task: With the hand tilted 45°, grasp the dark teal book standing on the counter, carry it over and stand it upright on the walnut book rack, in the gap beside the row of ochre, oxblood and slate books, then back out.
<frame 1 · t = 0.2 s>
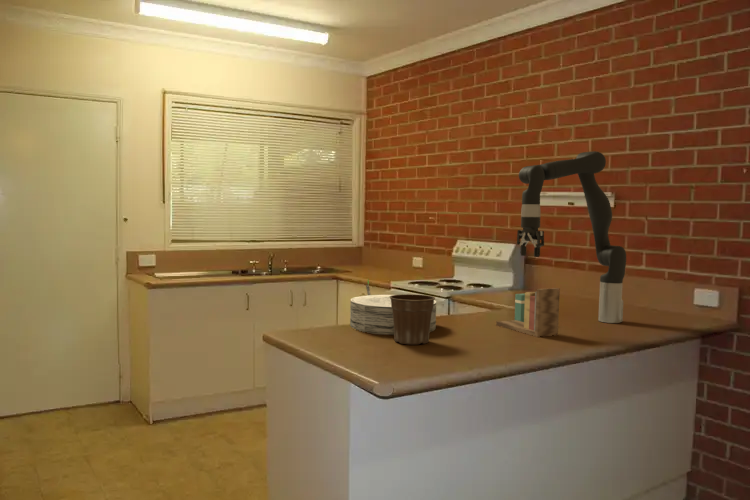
hand: (529, 256, 250), 29 cm above the counter, tool pointing down, fingers open, 8 cm apart
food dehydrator: (390, 326, 251), on the counter
book rack: (524, 329, 248), on the counter
teal book: (522, 322, 265), on the counter
plant pot: (411, 342, 221), on the counter
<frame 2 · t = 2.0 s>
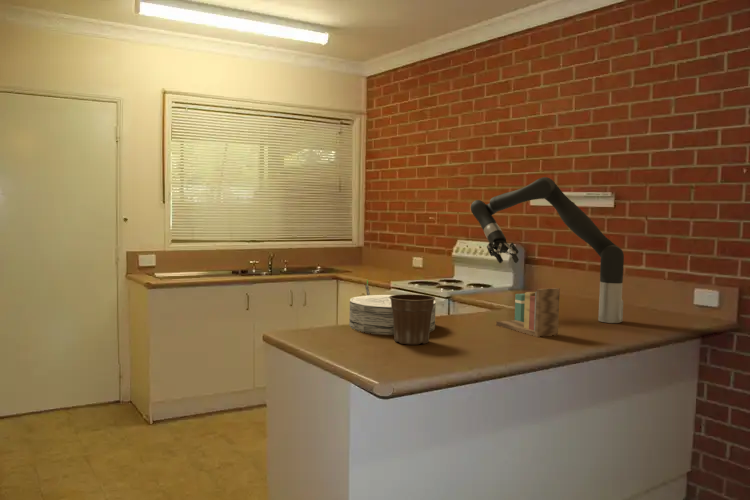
hand: (509, 261, 276), 25 cm above the counter, tool tilted 45°, fingers open, 8 cm apart
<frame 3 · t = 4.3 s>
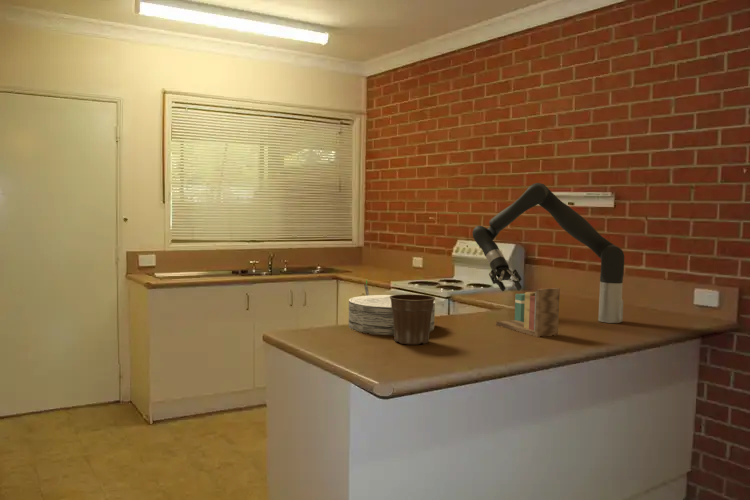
hand: (512, 289, 271), 13 cm above the counter, tool tilted 45°, fingers open, 8 cm apart
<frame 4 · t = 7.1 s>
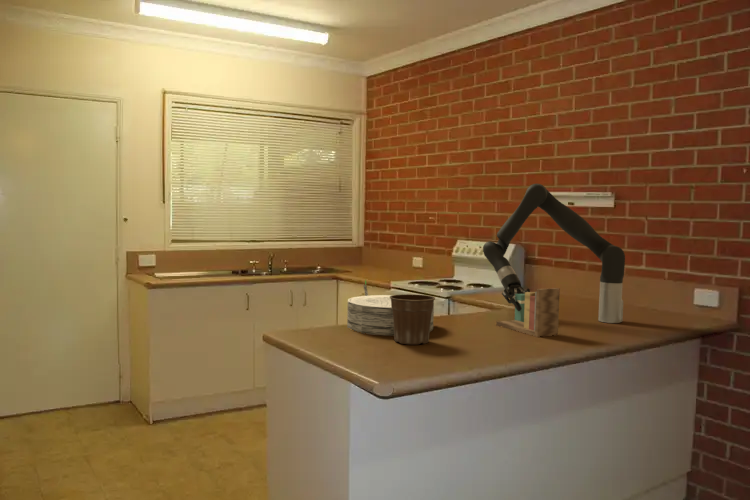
hand: (525, 309, 263), 6 cm above the counter, tool tilted 45°, fingers closed on teal book, 5 cm apart
teal book: (522, 322, 265), on the counter, touching gripper
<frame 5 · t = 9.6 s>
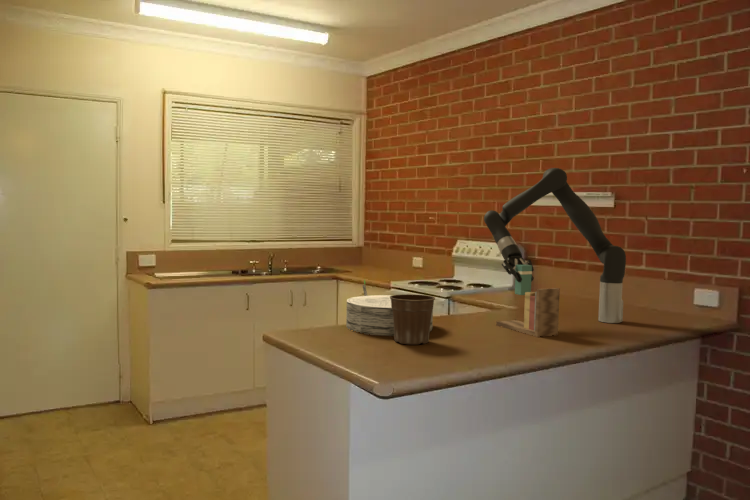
hand: (526, 280, 251), 19 cm above the counter, tool tilted 45°, fingers closed on teal book, 5 cm apart
teal book: (522, 294, 253), point 13 cm above the counter, touching gripper
when the fingers open (9 cm above the counter, at t = 12.5 s): teal book drops 1 cm, resting on book rack.
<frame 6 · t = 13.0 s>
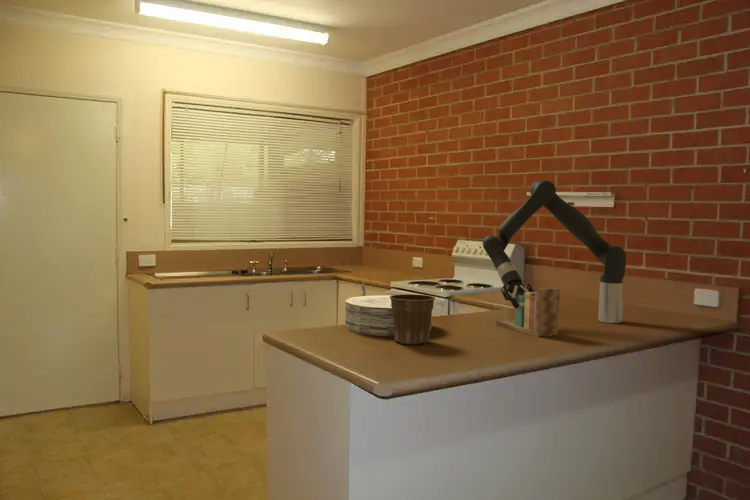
hand: (526, 307, 247), 9 cm above the counter, tool tilted 45°, fingers open, 8 cm apart
teal book: (522, 325, 249), point 1 cm above the counter, touching book rack
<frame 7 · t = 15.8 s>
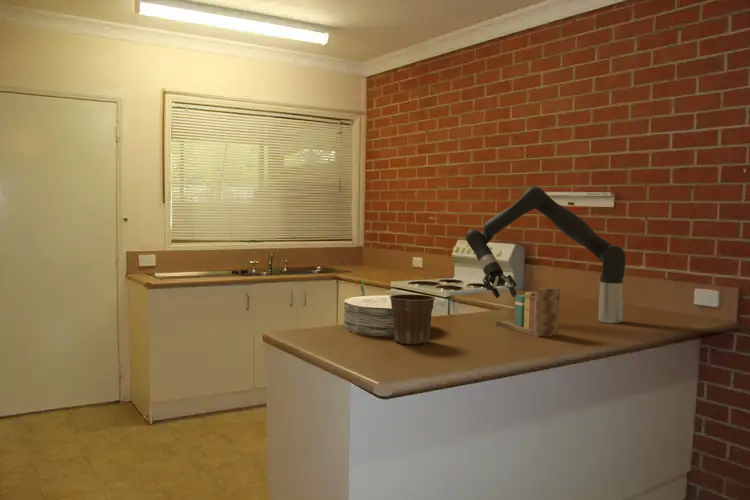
hand: (506, 296, 260), 11 cm above the counter, tool tilted 45°, fingers open, 8 cm apart
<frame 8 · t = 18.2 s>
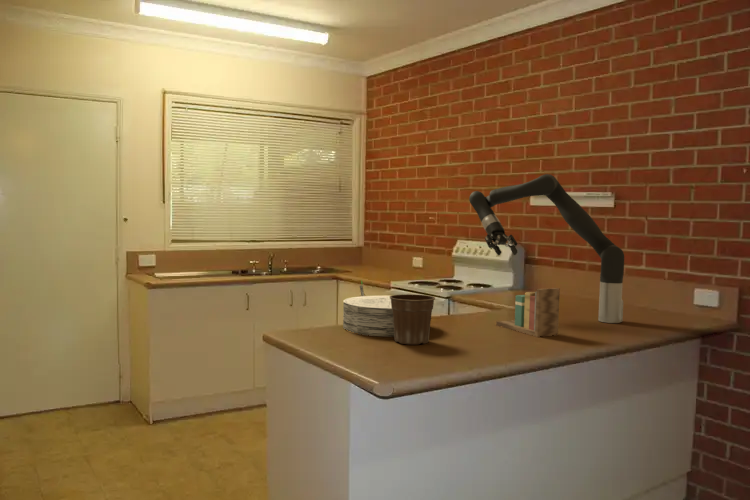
hand: (507, 253, 270), 29 cm above the counter, tool tilted 45°, fingers open, 8 cm apart
at the end: teal book inside the target area on the book rack (0.2 cm from its centre), point 1.5 cm above the book rack's base; teal book tilted 0°; the gripper is holding nothing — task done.
